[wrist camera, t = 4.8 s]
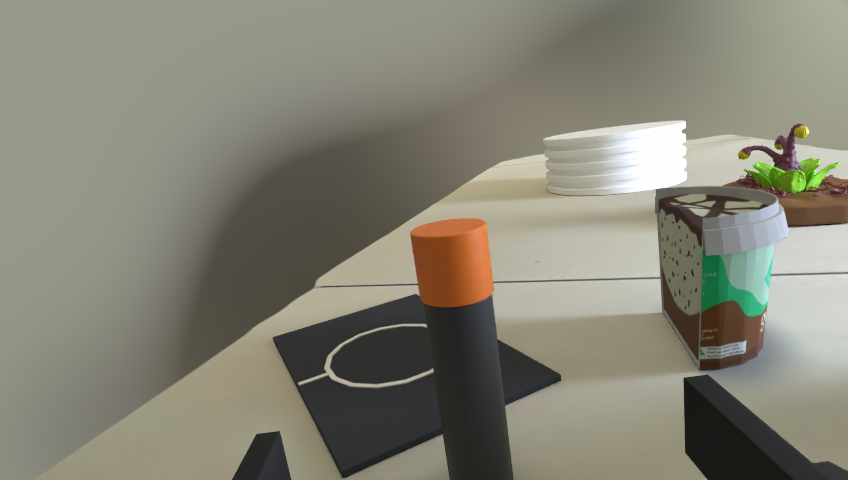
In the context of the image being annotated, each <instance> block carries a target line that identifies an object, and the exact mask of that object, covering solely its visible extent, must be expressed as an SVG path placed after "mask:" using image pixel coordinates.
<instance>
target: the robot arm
mask: <svg viewBox="0 0 848 480" xmlns="http://www.w3.org/2000/svg"><path fill="white" fill-rule="evenodd" d="M684 416H685V453H686V454H687V455H688V456H689V458H690V459H691V460H692V461H693V463H694V464H695V465H696V466H697V467H698V469H699V470H700V471H701V472H702V473H703V475H704V476H705V477H706V478H707V479H708V480H848V471H846V470H844V469H842V468H840V467H838V466H837V465H835V464H833V463H831V462H829V461H827V462H819V463H812V462H810V461H809V460H808V459H807V458H806V457H805V456H803V455H802V454H801V453H800V452H799V451H797V450H796V449H795V448H794V447H793V446H792V445H790V444H789V443H788V442H787V441H786V440H784V439H783V438H782V437H781V436H780V435H779V434H777V433H776V432H775V431H774V430H773V429H771V428H770V427H769V426H768V425H767V424H766V423H764V422H763V421H762V420H761V419H760V418H758V417H757V416H756V415H755V414H754V413H752V412H751V411H750V410H749V409H748V408H747V407H745V406H744V405H743V404H742V403H741V402H739V401H738V400H737V399H736V398H735V397H734V396H732V395H731V394H730V393H729V392H728V391H726V390H725V389H724V388H723V387H722V386H721V385H719V384H718V383H717V382H716V381H715V380H713V379H712V378H711V377H710V376H709V375H702V376H694V377H687V378H684ZM232 480H291V477H290V473H289V469H288V464H287V460H286V456H285V452H284V447H283V443H282V439H281V435H280V431H277V432H270V433H262V434H256V436H255V438H254V440H253V442H252V444H251V445H250V447H249V449H248V451H247V453H246V455H245V457H244V458H243V460H242V462H241V464H240V466H239V468H238V470H237V472H236V473H235V475H234V477H233V479H232Z"/></svg>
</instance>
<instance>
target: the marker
mask: <svg viewBox="0 0 848 480" xmlns="http://www.w3.org/2000/svg"><path fill="white" fill-rule="evenodd" d="M411 241H412V248H413V254H414V261H415V267H416V274H417V281H418V287H419V294H420V299H421V301H422V302H423V305H424V311H425V318H426V325H427V331H428V338H429V345H430V351H431V358H432V364H433V371H434V378H435V384H436V391H437V398H438V404H439V411H440V418H441V424H442V431H443V438H444V444H445V451H446V457H447V464H448V471H449V477H450V480H513V472H512V463H511V454H510V446H509V437H508V428H507V420H506V411H505V402H504V394H503V385H502V377H501V368H500V359H499V351H498V342H497V333H496V325H495V316H494V307H493V299H492V293H493V290H494V287H493V278H492V269H491V261H490V252H489V243H488V235H487V226H486V222H485V221H483V220H479V219H451V220H443V221H438V222H433V223H429V224H425V225H422V226H419V227H417V228H415V229H413V230H412V231H411Z"/></svg>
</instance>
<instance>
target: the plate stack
mask: <svg viewBox="0 0 848 480" xmlns="http://www.w3.org/2000/svg"><path fill="white" fill-rule="evenodd" d="M684 128H686V122H685V121H664V122H653V123H643V124H634V125H625V126H616V127H608V128H601V129H593V130H586V131H580V132H573V133H567V134H561V135H556V136H551V137H547V138H544V139H543V140H544V145H547V146H548V149H546V150H545V157H548V158H549V160H547V161H546V162H545V164H546V168H547V169H550V171H548V172H547V173H546V176H547V180H549V181H550V182H549V183H548V184H547V188H548V191H549V192H551V193H554V194H560V195H574V196H591V195H611V194H623V193H633V192H640V191H647V190H654V189H659V188H664V187H668V186H672V185H676V184H679V183H681V182H683V181H685V180H686V171H684V170H682V169H683V168H685V167H686V159H685V158H682V156H683V155H685V154H686V147H685V146H682V143H683V142H685V141H686V134H684V133H681V130H682V129H684Z"/></svg>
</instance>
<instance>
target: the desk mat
mask: <svg viewBox="0 0 848 480" xmlns="http://www.w3.org/2000/svg"><path fill="white" fill-rule="evenodd" d="M273 340H274V343H275V344H276V346H277V348H278V350H279V352H280V354H281V356H282V358H283V360H284V362H285V364H286V366H287V368H288V370H289V372H290V374H291V376H292V378H293V380H294V382H295V384H296V386H297V388H298V390H299V392H300V394H301V396H302V398H303V400H304V402H305V404H306V406H307V408H308V410H309V412H310V413H311V415H312V417H313V419H314V421H315V423H316V425H317V427H318V429H319V431H320V433H321V435H322V437H323V439H324V441H325V443H326V445H327V447H328V449H329V451H330V453H331V455H332V457H333V459H334V461H335V463H336V465H337V467H338V469H339V471H340V473H341V475H342V477H345V476H347V475H350V474H352V473H354V472H356V471H359V470H361V469H363V468H365V467H368V466H370V465H372V464H374V463H376V462H379V461H381V460H383V459H385V458H388V457H390V456H392V455H394V454H396V453H399V452H401V451H403V450H405V449H408V448H410V447H412V446H414V445H416V444H419V443H421V442H423V441H425V440H428V439H430V438H432V437H434V436H437V435H439V434H441V433H443V431H442V424H441V418H440V411H439V404H438V398H437V391H436V384H435V378H434V371H433V364H432V358H431V351H430V345H429V338H428V331H427V325H426V318H425V311H424V305H423V302H422V301H421V299H420V296H419V295H417V294H414V295H411V296H408V297H404V298H401V299H398V300H394V301H391V302H388V303H385V304H381V305H378V306H375V307H371V308H368V309H365V310H361V311H358V312H355V313H352V314H348V315H345V316H342V317H338V318H335V319H332V320H328V321H325V322H322V323H318V324H315V325H312V326H309V327H305V328H302V329H299V330H295V331H292V332H289V333H285V334H282V335H279V336H276V337H273ZM497 342H498V351H499V359H500V368H501V377H502V385H503V394H504V402H505V405H506V404H508V403H510V402H512V401H514V400H517V399H519V398H521V397H523V396H526V395H528V394H530V393H532V392H534V391H537V390H539V389H541V388H543V387H546V386H548V385H550V384H552V383H555V382H557V381H559V380H561V375H560V374H559V373H557V372H555V371H553V370H552V369H550V368H548V367H546V366H544V365H543V364H541V363H539V362H537V361H535V360H534V359H532V358H530V357H528V356H526V355H525V354H523V353H521V352H519V351H517V350H516V349H514V348H512V347H510V346H508V345H507V344H505V343H503V342H501V341H499V340H498V339H497Z"/></svg>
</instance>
